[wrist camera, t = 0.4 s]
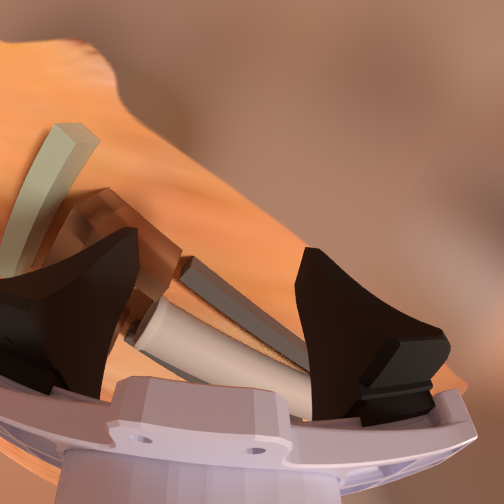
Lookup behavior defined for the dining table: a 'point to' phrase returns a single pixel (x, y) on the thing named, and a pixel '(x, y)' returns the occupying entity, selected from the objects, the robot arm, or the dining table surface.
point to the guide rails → (233, 318)
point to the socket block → (106, 222)
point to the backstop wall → (43, 194)
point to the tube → (218, 356)
